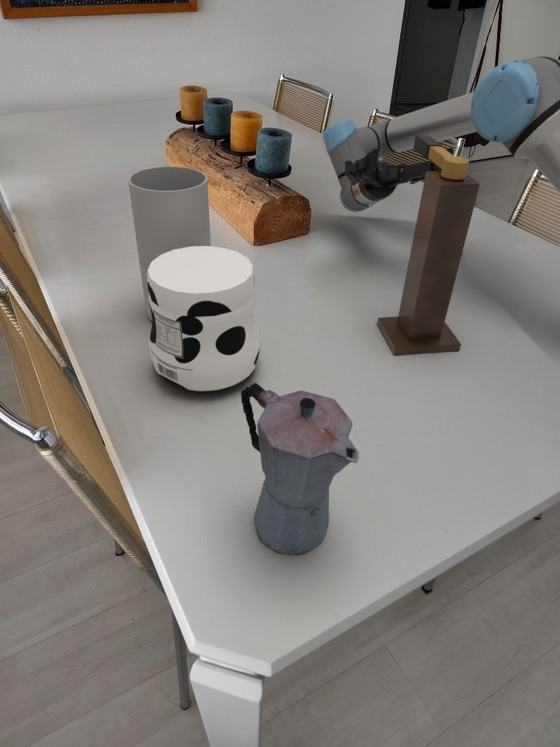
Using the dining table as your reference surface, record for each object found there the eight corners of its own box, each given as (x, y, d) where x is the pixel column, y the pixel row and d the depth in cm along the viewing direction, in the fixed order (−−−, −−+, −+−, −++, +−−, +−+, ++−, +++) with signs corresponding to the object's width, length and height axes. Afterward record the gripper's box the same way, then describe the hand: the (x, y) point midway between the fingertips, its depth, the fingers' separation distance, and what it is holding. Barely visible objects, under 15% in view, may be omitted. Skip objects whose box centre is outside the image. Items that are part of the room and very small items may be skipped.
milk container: (258, 338, 96) (260, 243, 85) (260, 402, 82) (262, 298, 72) (160, 338, 95) (148, 241, 84) (145, 402, 81) (129, 297, 71)
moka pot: (318, 588, 58) (336, 459, 46) (213, 515, 66) (204, 386, 53) (363, 530, 65) (389, 402, 52) (262, 469, 72) (264, 344, 60)
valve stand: (437, 320, 103) (475, 166, 86) (459, 351, 95) (505, 187, 78) (376, 324, 101) (402, 167, 84) (393, 355, 93) (426, 189, 76)
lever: (429, 149, 92) (432, 134, 90) (469, 179, 80) (473, 162, 78) (409, 149, 91) (411, 134, 90) (446, 180, 79) (449, 163, 78)
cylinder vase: (137, 326, 98) (115, 187, 83) (158, 293, 108) (143, 163, 93) (204, 333, 97) (195, 194, 82) (220, 299, 107) (215, 169, 91)
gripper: (430, 200, 117) (481, 177, 96) (317, 203, 113) (344, 180, 93) (430, 163, 116) (481, 133, 95) (316, 165, 112) (343, 134, 92)
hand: (414, 156), depth 94 cm, fingers open, 13 cm apart
